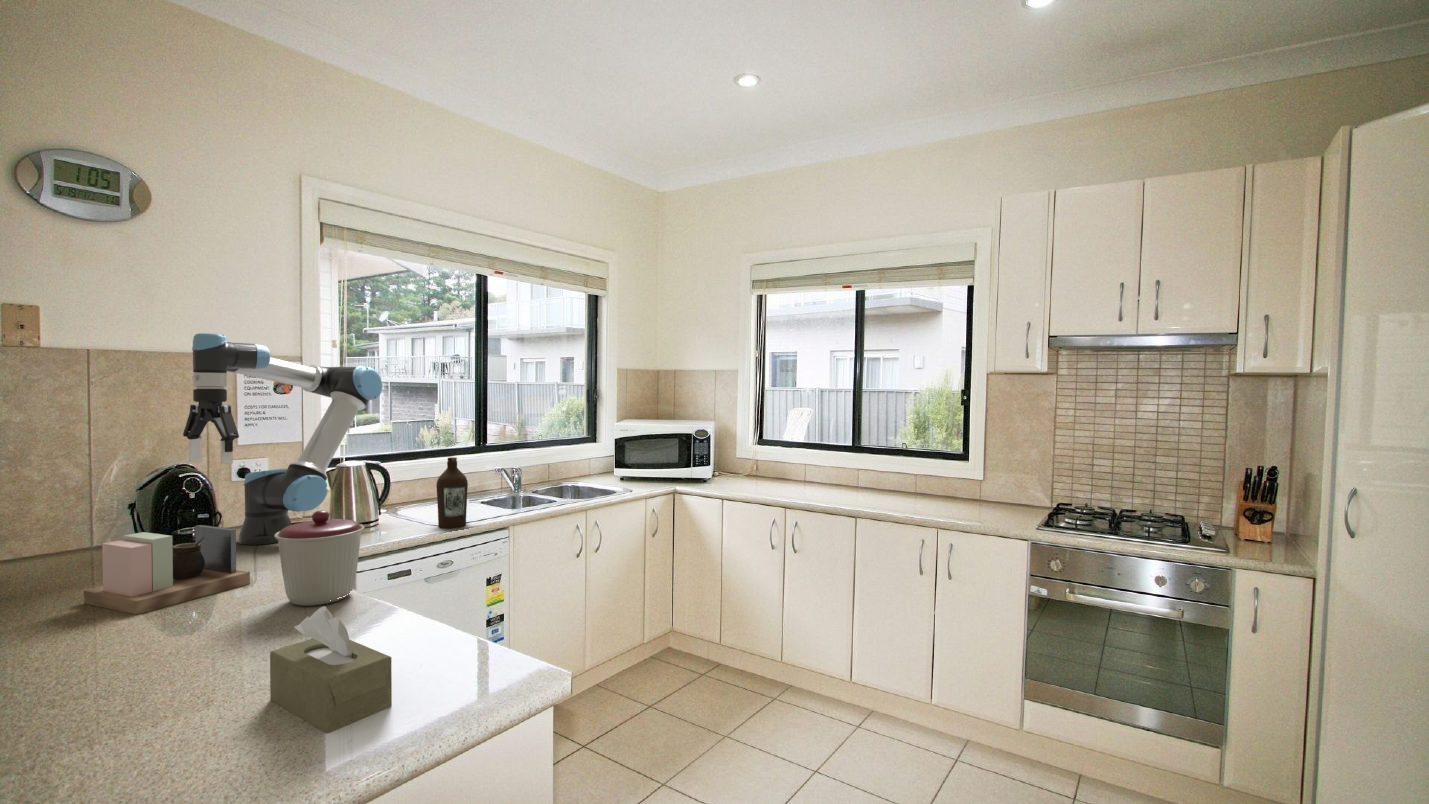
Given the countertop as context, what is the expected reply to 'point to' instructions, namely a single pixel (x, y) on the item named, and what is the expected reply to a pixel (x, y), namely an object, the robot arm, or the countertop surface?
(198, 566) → the mate gourd
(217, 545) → the bookend
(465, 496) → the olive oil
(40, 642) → the countertop surface
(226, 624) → the countertop surface
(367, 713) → the tissue box
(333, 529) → the canister
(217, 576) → the wooden serving tray
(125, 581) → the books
